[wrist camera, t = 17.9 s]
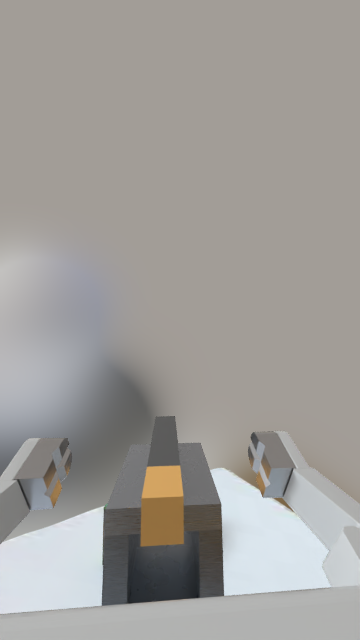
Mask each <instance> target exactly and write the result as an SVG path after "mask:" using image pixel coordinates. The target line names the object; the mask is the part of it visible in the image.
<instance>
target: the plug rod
mask: <svg viewBox="0 0 360 640" xmlns="http://www.w3.org/2000/svg"><path fill="white" fill-rule="evenodd" d="M175 544H184V498H183V487H182V478H181V468H180V459H179V450H178V440H177V431H176V422H175V416H167V417H156V419H155V425H154V431H153V437H152V442H151V447H150V453H149V459H148V464H147V470H146V476H145V481H144V487H143V493H142V498H141V547H142V546H158V545H175Z"/></svg>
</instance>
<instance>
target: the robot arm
mask: <svg viewBox="0 0 360 640" xmlns="http://www.w3.org/2000/svg"><path fill="white" fill-rule="evenodd" d="M251 440H252V443H251V444H250V445H249V449H248V455H249V460H250V464H251V467H252V469H253V470H254V471H255V472H256V473H257V474H258V475H257V479H256V481H257V483H258V486H259V489H260V491H261V494H262V497H263V498H274V497H283V499H284V500H285V501H286V503H287V504H288V505H289V506H290V507H291V508H292V509H293V511H294V512H295V513H296V514H297V515H298V516H299V517H300V518H301V520H302V521H303V522H304V523H305V524H306V525H307V526H308V528H309V529H310V530H311V531H312V532H313V533H314V534H315V535H316V537H317V538H318V539H319V540H320V541H321V542H322V543H323V545H324V546H325V547H326V548H327V549H328V550H329V552H328V554H327V556H326V558H325V559H324V561H323V564H322V568H323V570H324V572H325V575H326V577H327V579H328V581H329V583H330V585H331V587H330V588H318V589H305V590H293V591H281V592H268V593H256V594H244V595H231V596H219V597H206V598H194V599H182V600H169V601H157V602H144V603H132V604H120V605H107V606H95V607H83V608H70V609H58V610H45V611H33V612H21V613H8V614H0V640H360V504H359V503H358V502H356V501H355V500H354V499H353V498H351V497H350V496H349V495H347V494H346V493H345V492H344V491H342V490H341V489H340V488H338V487H337V486H336V485H335V484H333V483H332V482H331V481H329V480H328V479H327V478H326V477H324V476H323V475H322V474H321V473H319V472H318V471H317V470H315V469H314V468H310V467H309V466H308V464H307V463H306V461H305V459H304V458H303V456H302V455H301V453H300V452H299V450H298V448H297V447H296V445H295V443H294V442H293V440H292V439H291V437H290V435H289V434H288V433H287V432H286V431H275V432H274V431H268V432H253V433H252V434H251ZM68 445H69V441H68V438H33V439H31V438H30V439H28V440H27V441H26V442H25V443H24V444H23V445H22V447H21V448H20V450H19V451H18V453H17V454H16V455H15V457H14V458H13V460H12V461H11V463H10V464H9V465H8V467H7V468H6V470H5V471H4V473H3V474H2V475H1V477H0V544H1V543H2V542H3V541H4V540H5V539H6V537H7V536H8V535H9V534H10V533H11V532H12V531H13V530H14V529H15V528H16V527H17V525H18V524H19V523H20V522H21V521H22V520H23V519H24V518H25V517H26V516H27V515H28V513H29V512H30V510H38V509H50V508H54V506H55V503H56V501H57V498H58V496H59V494H60V492H61V489H62V487H61V483H60V482H61V481H62V480H64V478H66V476H67V475H68V472H69V469H70V466H71V462H72V453H71V451H70V450H69V449H68V448H67V447H68Z"/></svg>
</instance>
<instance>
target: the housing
mask: <svg viewBox="0 0 360 640" xmlns="http://www.w3.org/2000/svg"><path fill="white" fill-rule="evenodd" d="M150 447H151V444H147V445H146V444H144V445H131V446H130V449H129V451H128V454H127V456H126V459H125V461H124V464H123V466H122V470H121V471H120V474H119V477H118V479H117V482H116V484H115V487H114V489H113V492H112V494H111V497H110V500H109V502H108V504H107V507H106V513H105V537H104V562H103V586H102V606H107V605H120V604H132V603H144V602H157V601H169V600H182V599H194V598H206V597H219V596H224V582H223V548H222V515H221V502H220V499H219V496H218V493H217V490H216V487H215V484H214V481H213V478H212V475H211V472H210V470H209V467H208V464H207V461H206V458H205V455H204V452H203V449H202V446H201V443H178V450H179V459H180V468H181V478H182V487H183V498H184V544H175V545H158V546H142V547H141V498H142V493H143V487H144V481H145V476H146V470H147V464H148V459H149V453H150Z"/></svg>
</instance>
